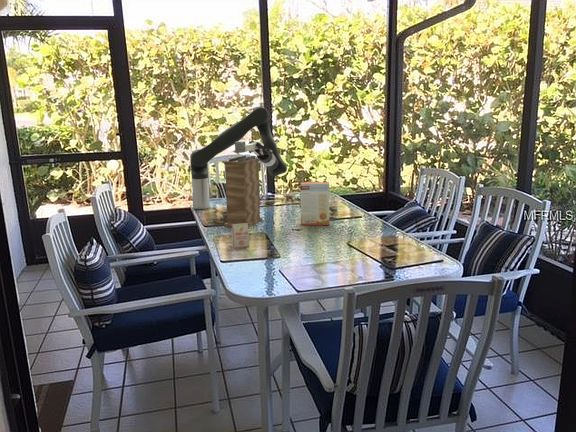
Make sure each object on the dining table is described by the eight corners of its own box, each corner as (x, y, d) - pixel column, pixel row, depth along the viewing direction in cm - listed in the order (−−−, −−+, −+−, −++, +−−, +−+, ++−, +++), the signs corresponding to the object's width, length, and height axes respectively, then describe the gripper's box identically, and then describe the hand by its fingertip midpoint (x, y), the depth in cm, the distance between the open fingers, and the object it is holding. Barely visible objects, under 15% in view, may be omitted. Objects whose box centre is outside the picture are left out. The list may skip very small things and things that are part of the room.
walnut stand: (246, 228, 240) (244, 159, 233) (224, 226, 245) (222, 158, 237) (262, 220, 256) (261, 155, 249) (241, 218, 261) (240, 155, 253)
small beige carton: (231, 246, 212) (231, 223, 210) (247, 244, 214) (246, 222, 212) (233, 248, 209) (232, 225, 207) (249, 247, 211) (248, 224, 208)
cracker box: (329, 222, 250) (329, 181, 245) (329, 225, 244) (329, 183, 239) (301, 222, 252) (301, 181, 247) (300, 225, 246) (300, 183, 241)
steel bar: (241, 152, 239) (241, 142, 237) (235, 152, 240) (234, 142, 239) (261, 148, 258) (261, 138, 257) (255, 148, 260) (255, 138, 258)
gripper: (256, 150, 272) (242, 136, 256) (279, 151, 266) (267, 137, 251) (253, 163, 270) (239, 149, 255) (277, 164, 265) (264, 150, 249)
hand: (253, 143), depth 253 cm, fingers closed on steel bar, 3 cm apart
